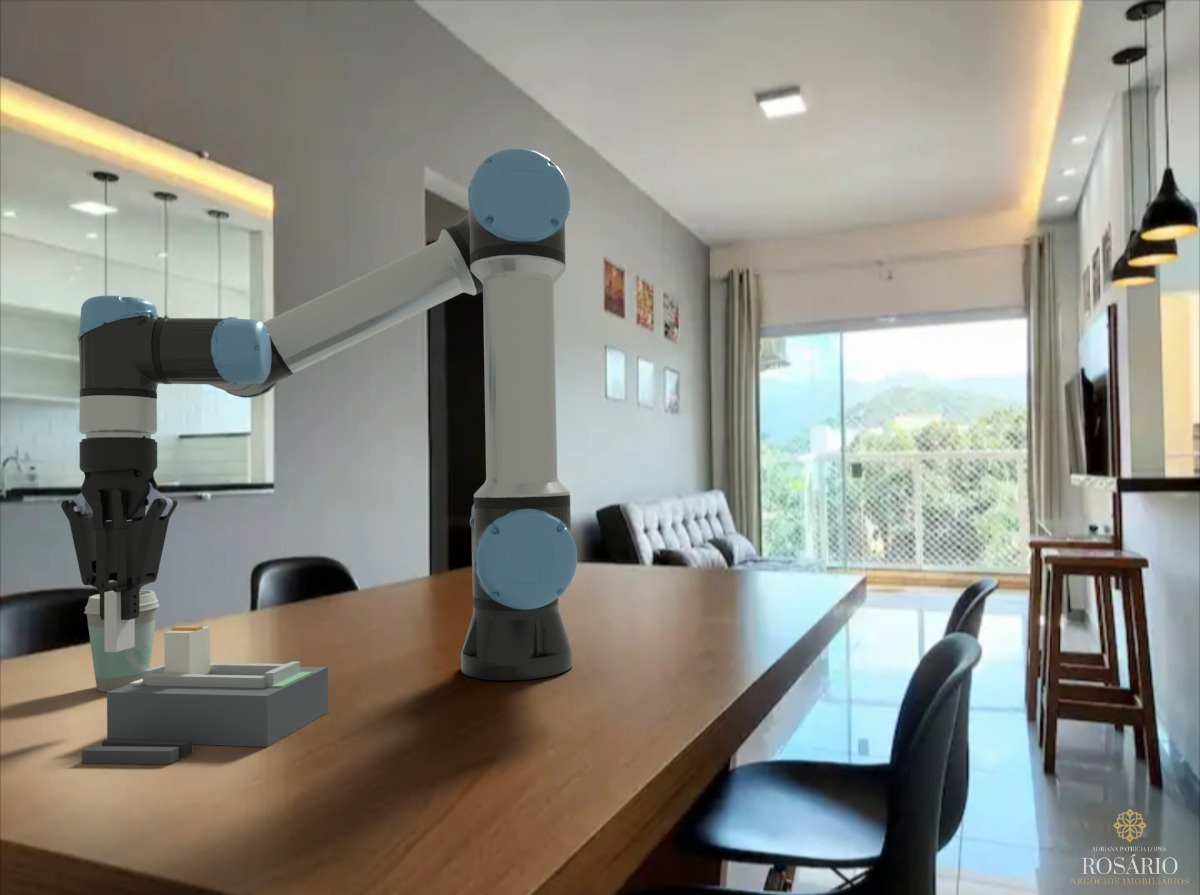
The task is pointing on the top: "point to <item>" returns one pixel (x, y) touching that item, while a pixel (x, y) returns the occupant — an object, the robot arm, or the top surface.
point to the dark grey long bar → (152, 744)
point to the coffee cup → (127, 663)
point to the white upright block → (187, 650)
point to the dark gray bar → (130, 755)
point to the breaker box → (219, 704)
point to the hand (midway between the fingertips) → (119, 649)
